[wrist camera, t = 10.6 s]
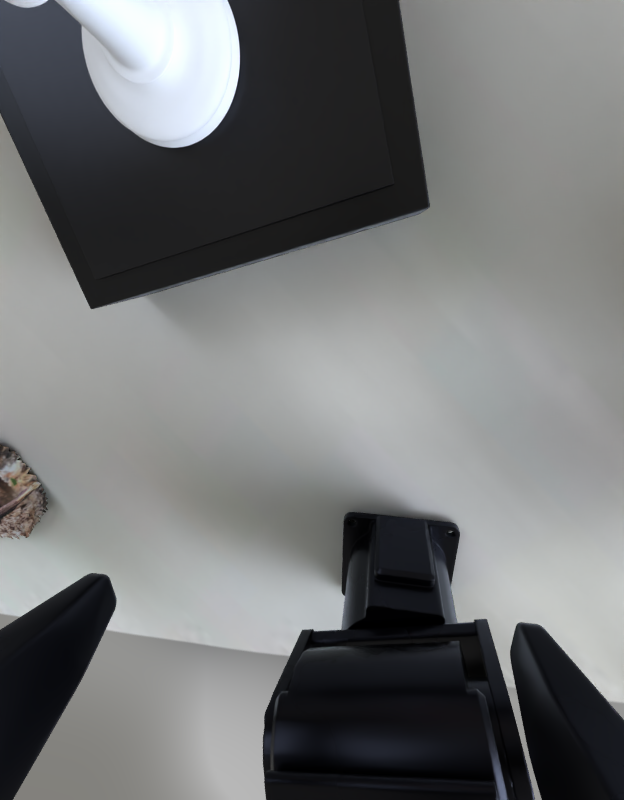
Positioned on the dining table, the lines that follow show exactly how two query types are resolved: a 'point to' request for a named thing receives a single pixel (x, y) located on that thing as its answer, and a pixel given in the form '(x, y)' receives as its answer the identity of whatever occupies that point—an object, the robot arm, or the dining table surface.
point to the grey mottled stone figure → (18, 496)
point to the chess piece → (160, 63)
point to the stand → (219, 146)
